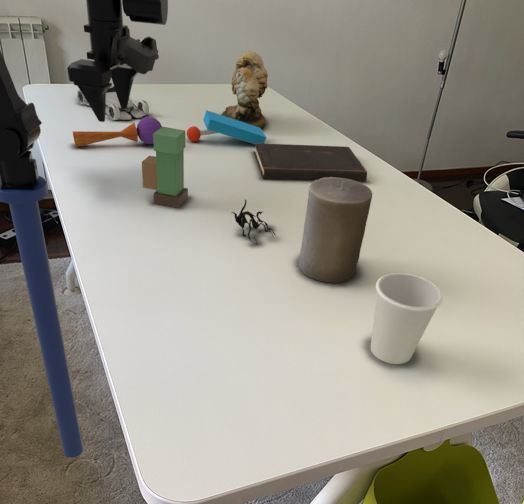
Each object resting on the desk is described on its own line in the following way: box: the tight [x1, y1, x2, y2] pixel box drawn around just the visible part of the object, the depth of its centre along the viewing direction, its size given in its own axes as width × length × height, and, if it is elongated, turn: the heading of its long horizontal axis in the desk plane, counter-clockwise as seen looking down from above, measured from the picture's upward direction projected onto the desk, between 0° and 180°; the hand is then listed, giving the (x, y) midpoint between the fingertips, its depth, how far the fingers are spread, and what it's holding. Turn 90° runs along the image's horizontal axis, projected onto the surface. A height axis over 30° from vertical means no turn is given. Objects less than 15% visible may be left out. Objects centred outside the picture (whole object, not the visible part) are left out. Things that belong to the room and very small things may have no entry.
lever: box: [186, 109, 267, 145], centre depth 134 cm, size 7×7×18 cm
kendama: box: [71, 116, 163, 148], centre depth 125 cm, size 6×6×20 cm
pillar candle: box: [298, 177, 373, 284], centre depth 87 cm, size 10×10×15 cm
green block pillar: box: [141, 126, 189, 209], centre depth 102 cm, size 12×5×12 cm
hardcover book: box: [253, 143, 368, 182], centre depth 125 cm, size 16×23×2 cm
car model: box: [76, 84, 150, 121], centre depth 147 cm, size 11×24×5 cm, turn 42°
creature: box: [231, 198, 276, 245], centre depth 97 cm, size 8×5×8 cm
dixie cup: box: [370, 272, 444, 365], centre depth 72 cm, size 8×8×10 cm
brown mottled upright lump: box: [221, 50, 269, 130], centre depth 143 cm, size 18×12×17 cm, turn 9°
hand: (113, 114), depth 103 cm, fingers open, 9 cm apart
